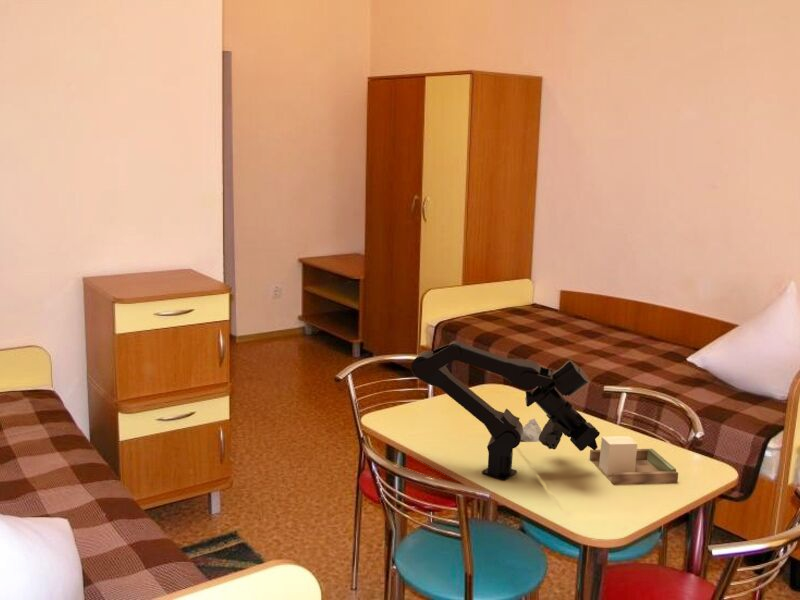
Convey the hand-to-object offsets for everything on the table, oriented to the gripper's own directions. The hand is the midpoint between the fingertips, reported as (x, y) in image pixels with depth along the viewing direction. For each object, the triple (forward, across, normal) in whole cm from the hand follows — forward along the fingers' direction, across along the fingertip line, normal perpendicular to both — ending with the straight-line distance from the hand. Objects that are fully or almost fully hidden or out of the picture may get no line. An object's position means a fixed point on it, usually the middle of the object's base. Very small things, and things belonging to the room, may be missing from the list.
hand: (595, 448), depth 189 cm
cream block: (+9, 0, 0) cm, 9 cm away
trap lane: (+12, 0, +2) cm, 13 cm away
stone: (+1, -27, -11) cm, 29 cm away
